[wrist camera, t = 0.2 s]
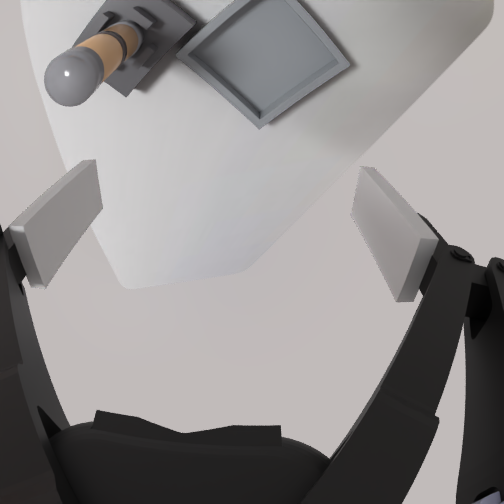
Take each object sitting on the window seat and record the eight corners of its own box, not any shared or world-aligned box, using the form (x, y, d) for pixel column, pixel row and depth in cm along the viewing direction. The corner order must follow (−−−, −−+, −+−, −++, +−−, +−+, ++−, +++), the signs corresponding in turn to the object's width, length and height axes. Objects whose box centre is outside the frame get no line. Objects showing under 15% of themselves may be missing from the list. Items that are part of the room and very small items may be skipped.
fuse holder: (135, -25, 23) (121, -24, 20) (196, 22, 29) (190, 28, 26) (77, 48, 29) (60, 59, 26) (133, 88, 35) (121, 103, 32)
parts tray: (268, -26, 25) (270, -26, 23) (343, 58, 33) (350, 65, 31) (179, 49, 32) (174, 55, 30) (258, 119, 40) (259, 129, 38)
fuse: (122, 12, 25) (61, 42, 16) (152, 34, 28) (105, 74, 19) (98, 42, 27) (35, 88, 18) (127, 63, 30) (76, 116, 21)
